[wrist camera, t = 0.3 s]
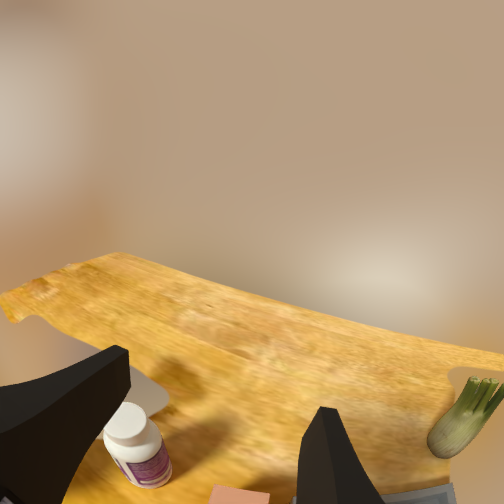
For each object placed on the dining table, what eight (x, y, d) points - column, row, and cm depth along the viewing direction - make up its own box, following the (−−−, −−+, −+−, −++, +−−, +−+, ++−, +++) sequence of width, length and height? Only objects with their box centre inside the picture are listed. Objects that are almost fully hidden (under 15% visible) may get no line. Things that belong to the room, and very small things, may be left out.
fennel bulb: (464, 447, 22) (515, 380, 18) (447, 472, 19) (506, 406, 15) (434, 427, 26) (477, 358, 22) (415, 449, 24) (464, 380, 20)
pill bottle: (177, 455, 24) (163, 402, 21) (167, 495, 19) (145, 452, 16) (131, 444, 24) (107, 389, 21) (117, 481, 19) (83, 432, 16)
